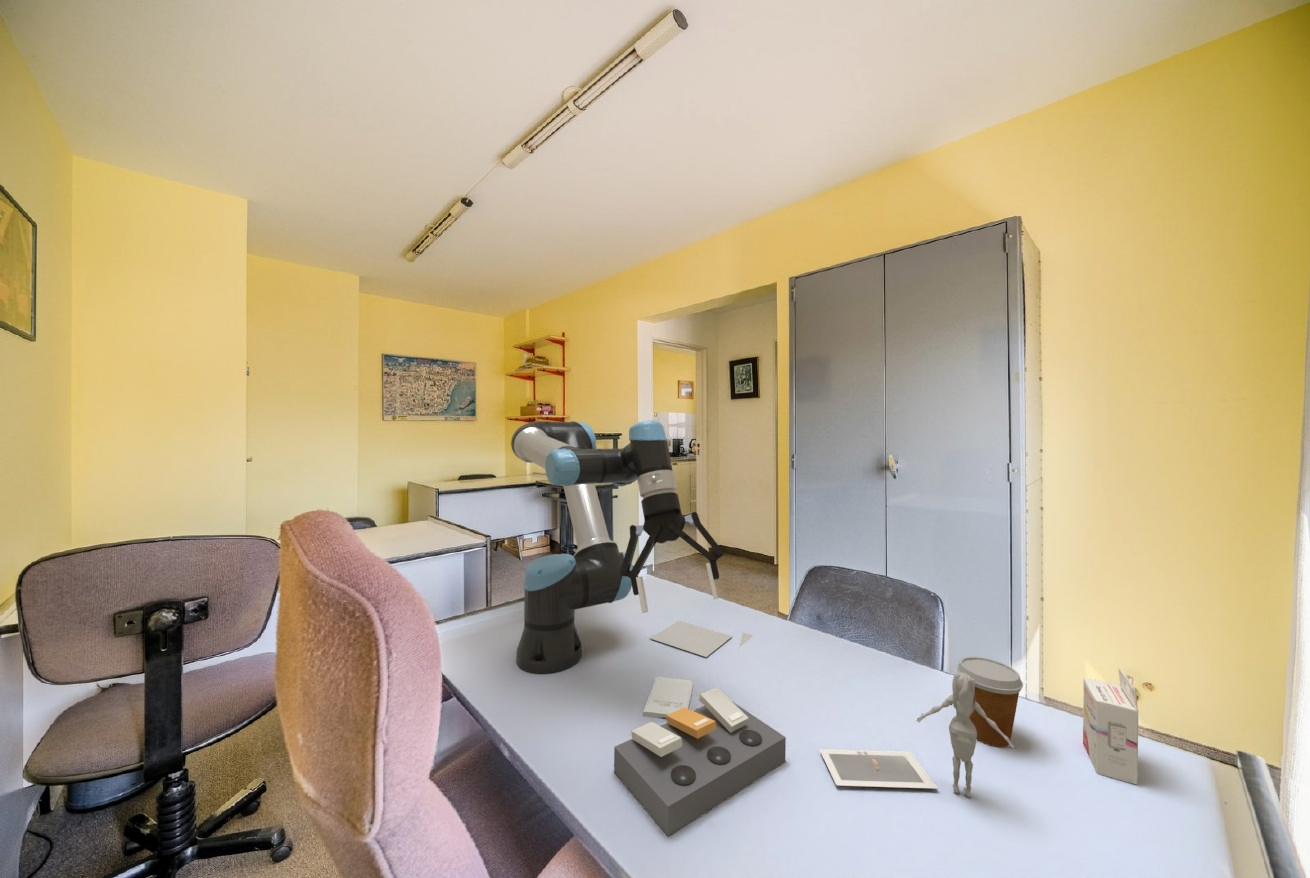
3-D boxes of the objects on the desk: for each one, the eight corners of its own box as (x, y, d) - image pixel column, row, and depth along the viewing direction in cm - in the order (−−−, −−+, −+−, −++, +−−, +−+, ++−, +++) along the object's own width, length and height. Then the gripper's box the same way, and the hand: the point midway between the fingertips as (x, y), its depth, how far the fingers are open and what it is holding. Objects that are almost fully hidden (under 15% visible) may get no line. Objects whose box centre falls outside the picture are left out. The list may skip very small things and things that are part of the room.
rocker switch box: (614, 772, 71) (614, 744, 71) (724, 717, 85) (724, 694, 85) (667, 836, 60) (668, 804, 60) (785, 761, 74) (785, 735, 74)
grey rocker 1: (632, 739, 73) (631, 729, 73) (652, 729, 75) (651, 720, 75) (661, 757, 66) (660, 746, 66) (682, 746, 68) (681, 736, 69)
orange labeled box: (667, 723, 77) (666, 714, 77) (685, 714, 79) (684, 706, 79) (697, 738, 70) (696, 728, 70) (716, 729, 73) (715, 719, 73)
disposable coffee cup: (1004, 761, 74) (1005, 688, 74) (944, 727, 83) (945, 662, 83) (1033, 743, 79) (1034, 674, 79) (973, 713, 87) (974, 651, 87)
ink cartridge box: (1080, 742, 79) (1081, 658, 79) (1120, 753, 76) (1121, 666, 76) (1094, 774, 72) (1096, 681, 72) (1139, 787, 69) (1140, 691, 69)
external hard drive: (693, 688, 96) (686, 724, 84) (655, 683, 98) (642, 719, 86) (693, 680, 96) (686, 716, 84) (655, 676, 98) (642, 710, 86)
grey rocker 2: (699, 699, 81) (700, 693, 80) (715, 692, 83) (716, 685, 83) (730, 733, 74) (731, 725, 74) (747, 724, 76) (748, 716, 76)
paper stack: (695, 612, 136) (695, 610, 136) (776, 634, 122) (776, 631, 122) (649, 640, 117) (649, 638, 117) (738, 670, 103) (738, 667, 103)
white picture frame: (938, 795, 68) (938, 781, 68) (836, 792, 68) (836, 778, 68) (910, 758, 75) (910, 745, 75) (819, 755, 76) (819, 742, 76)
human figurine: (1010, 802, 66) (1012, 679, 66) (1015, 821, 63) (1017, 692, 62) (915, 771, 72) (917, 658, 72) (915, 787, 69) (917, 669, 68)
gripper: (594, 506, 89) (611, 620, 83) (719, 478, 87) (746, 593, 80) (604, 510, 96) (620, 616, 90) (720, 485, 94) (745, 592, 88)
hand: (680, 605), depth 85 cm, fingers open, 13 cm apart
